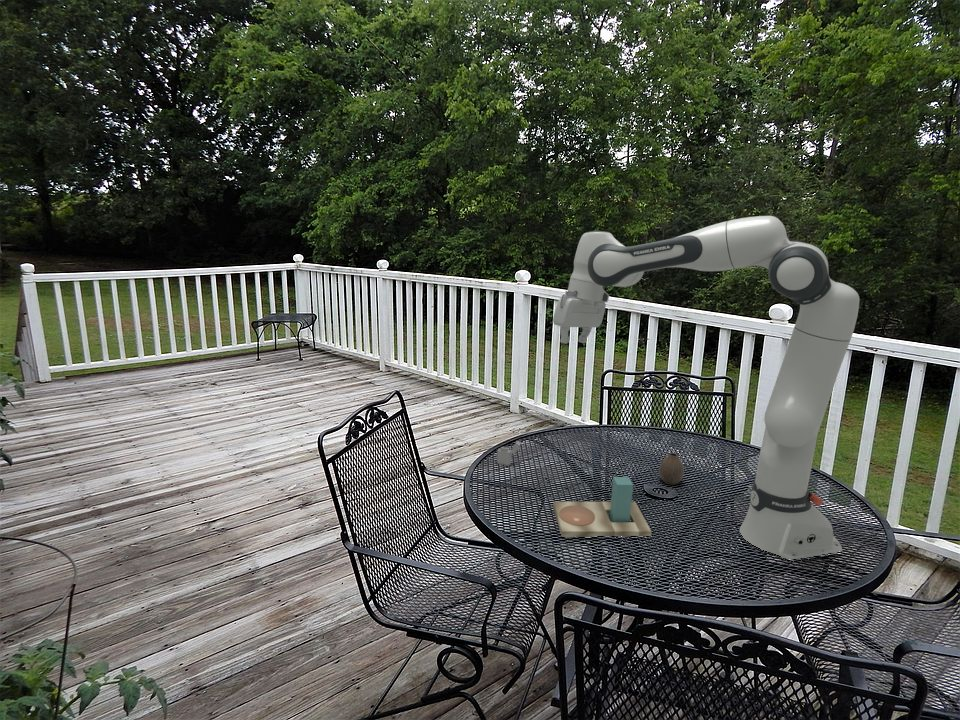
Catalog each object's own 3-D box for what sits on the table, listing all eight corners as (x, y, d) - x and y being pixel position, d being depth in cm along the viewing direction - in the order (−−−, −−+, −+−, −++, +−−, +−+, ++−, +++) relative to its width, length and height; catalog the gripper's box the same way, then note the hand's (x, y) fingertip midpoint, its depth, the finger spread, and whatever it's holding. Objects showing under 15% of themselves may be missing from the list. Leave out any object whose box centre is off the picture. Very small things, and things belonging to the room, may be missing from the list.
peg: (624, 518, 149) (628, 477, 145) (628, 527, 145) (633, 484, 141) (609, 518, 148) (613, 477, 145) (613, 527, 145) (617, 484, 141)
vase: (677, 489, 164) (681, 462, 161) (654, 482, 168) (657, 455, 165) (685, 480, 169) (689, 453, 166) (662, 473, 173) (666, 447, 170)
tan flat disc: (590, 506, 150) (590, 505, 150) (598, 525, 142) (598, 524, 141) (556, 506, 150) (556, 505, 150) (562, 525, 141) (562, 524, 141)
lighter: (496, 463, 178) (497, 439, 175) (498, 460, 179) (499, 437, 177) (519, 466, 176) (520, 443, 173) (520, 464, 177) (521, 440, 175)
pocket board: (634, 508, 153) (635, 501, 153) (650, 538, 140) (651, 531, 139) (553, 508, 153) (553, 501, 152) (561, 538, 139) (562, 531, 139)
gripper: (574, 292, 141) (562, 346, 144) (612, 296, 157) (601, 345, 160) (553, 287, 145) (542, 340, 148) (592, 292, 161) (581, 339, 164)
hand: (573, 342), depth 154 cm, fingers open, 8 cm apart
